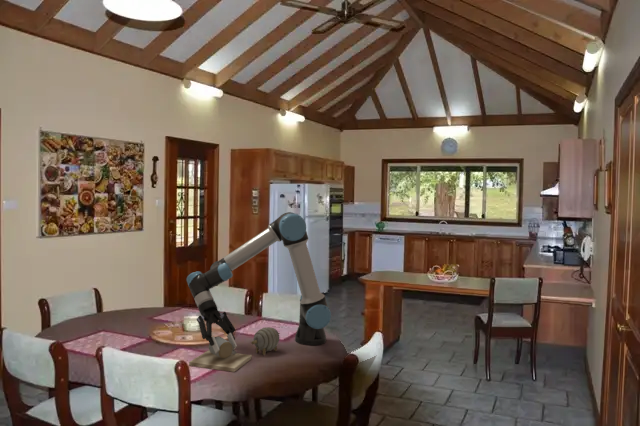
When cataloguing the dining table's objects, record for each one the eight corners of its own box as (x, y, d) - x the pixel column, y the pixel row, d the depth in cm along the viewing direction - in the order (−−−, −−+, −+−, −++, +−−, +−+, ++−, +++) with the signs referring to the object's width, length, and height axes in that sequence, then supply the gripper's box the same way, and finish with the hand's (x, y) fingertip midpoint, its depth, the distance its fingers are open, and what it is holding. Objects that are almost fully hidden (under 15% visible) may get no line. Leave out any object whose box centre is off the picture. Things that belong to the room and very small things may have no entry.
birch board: (251, 358, 232) (251, 355, 232) (234, 372, 215) (234, 368, 215) (209, 353, 237) (209, 349, 237) (189, 365, 220) (189, 361, 220)
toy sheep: (286, 350, 246) (287, 326, 246) (262, 359, 232) (263, 333, 231) (267, 345, 252) (268, 322, 251) (243, 354, 238) (244, 329, 237)
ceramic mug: (218, 360, 220) (219, 342, 220) (207, 355, 226) (208, 337, 226) (240, 356, 228) (241, 338, 227) (228, 351, 233) (229, 333, 233)
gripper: (222, 305, 243) (242, 349, 233) (181, 312, 229) (201, 359, 218) (229, 296, 239) (250, 340, 229) (188, 302, 225) (208, 349, 214)
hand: (226, 349), depth 223 cm, fingers closed on ceramic mug, 8 cm apart
